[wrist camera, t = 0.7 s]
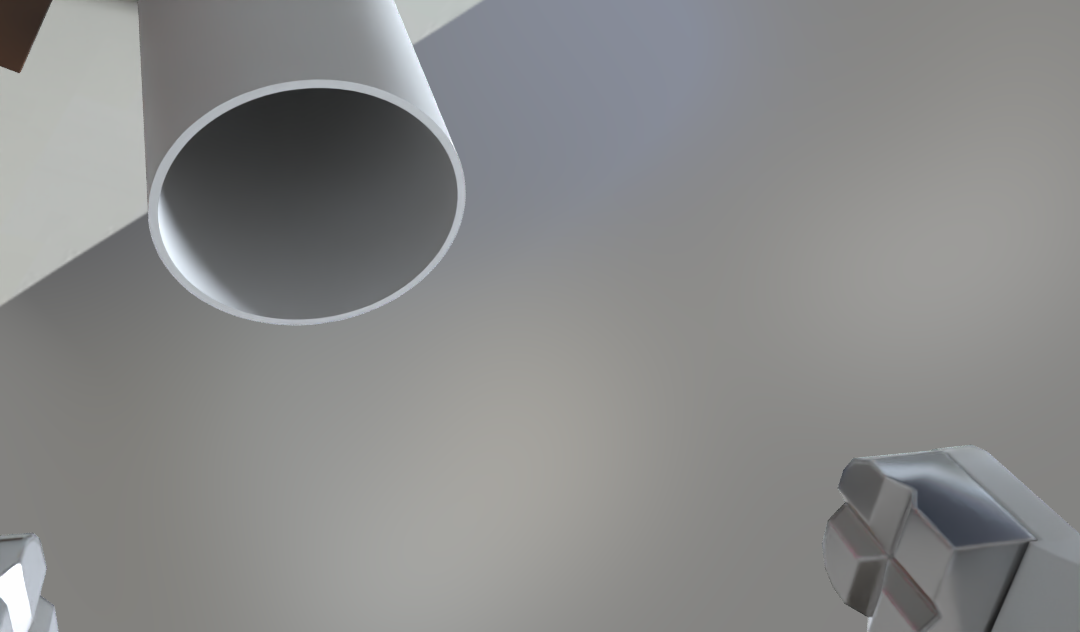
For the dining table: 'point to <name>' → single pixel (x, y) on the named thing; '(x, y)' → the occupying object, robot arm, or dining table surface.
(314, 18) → the cylinder vase
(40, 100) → the dining table surface
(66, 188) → the dining table surface
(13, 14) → the cabinet
